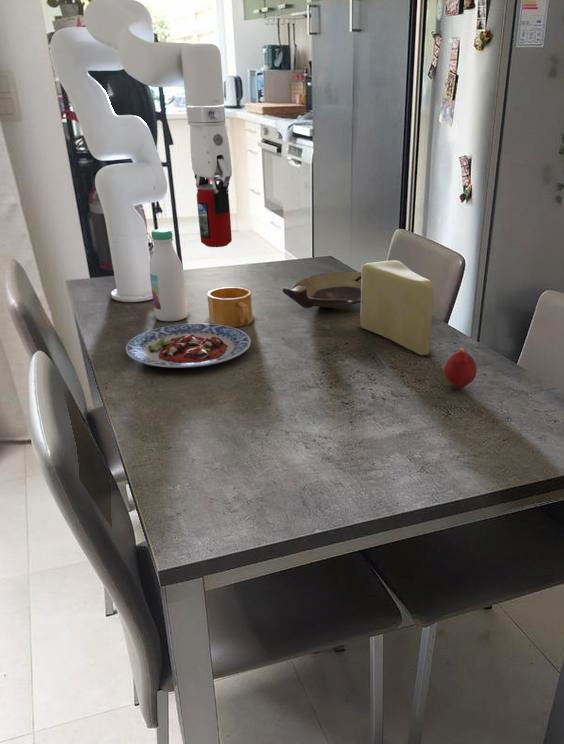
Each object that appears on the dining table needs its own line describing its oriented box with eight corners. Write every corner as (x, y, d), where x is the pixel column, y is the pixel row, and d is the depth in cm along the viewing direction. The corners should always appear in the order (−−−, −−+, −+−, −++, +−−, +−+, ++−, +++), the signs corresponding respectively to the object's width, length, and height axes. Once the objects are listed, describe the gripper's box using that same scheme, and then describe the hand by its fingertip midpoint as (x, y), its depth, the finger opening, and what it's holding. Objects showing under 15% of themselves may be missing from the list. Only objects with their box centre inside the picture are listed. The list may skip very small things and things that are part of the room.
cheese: (446, 352, 147) (452, 281, 139) (406, 359, 143) (410, 287, 135) (395, 322, 164) (398, 257, 156) (358, 327, 160) (360, 261, 153)
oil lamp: (401, 308, 173) (402, 277, 169) (292, 326, 162) (291, 293, 158) (357, 286, 190) (358, 257, 186) (256, 300, 179) (254, 270, 175)
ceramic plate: (273, 342, 152) (272, 329, 150) (207, 385, 132) (206, 370, 131) (176, 326, 161) (174, 313, 160) (100, 364, 141) (98, 350, 140)
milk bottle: (191, 312, 170) (182, 227, 160) (183, 322, 164) (173, 234, 153) (161, 311, 171) (150, 226, 161) (151, 321, 164) (139, 233, 154)
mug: (203, 318, 167) (200, 291, 163) (240, 311, 171) (239, 284, 168) (228, 334, 157) (226, 305, 154) (267, 326, 162) (265, 298, 158)
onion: (476, 384, 132) (481, 344, 128) (471, 396, 128) (476, 355, 124) (446, 380, 134) (449, 341, 130) (440, 392, 129) (443, 351, 125)
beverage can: (202, 241, 155) (196, 183, 148) (232, 241, 155) (228, 183, 149) (200, 248, 149) (194, 188, 143) (231, 248, 149) (227, 188, 143)
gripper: (242, 118, 135) (248, 215, 144) (204, 113, 147) (212, 203, 156) (207, 119, 131) (215, 219, 140) (171, 114, 143) (181, 206, 153)
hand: (213, 209), depth 148 cm, fingers closed on beverage can, 6 cm apart
